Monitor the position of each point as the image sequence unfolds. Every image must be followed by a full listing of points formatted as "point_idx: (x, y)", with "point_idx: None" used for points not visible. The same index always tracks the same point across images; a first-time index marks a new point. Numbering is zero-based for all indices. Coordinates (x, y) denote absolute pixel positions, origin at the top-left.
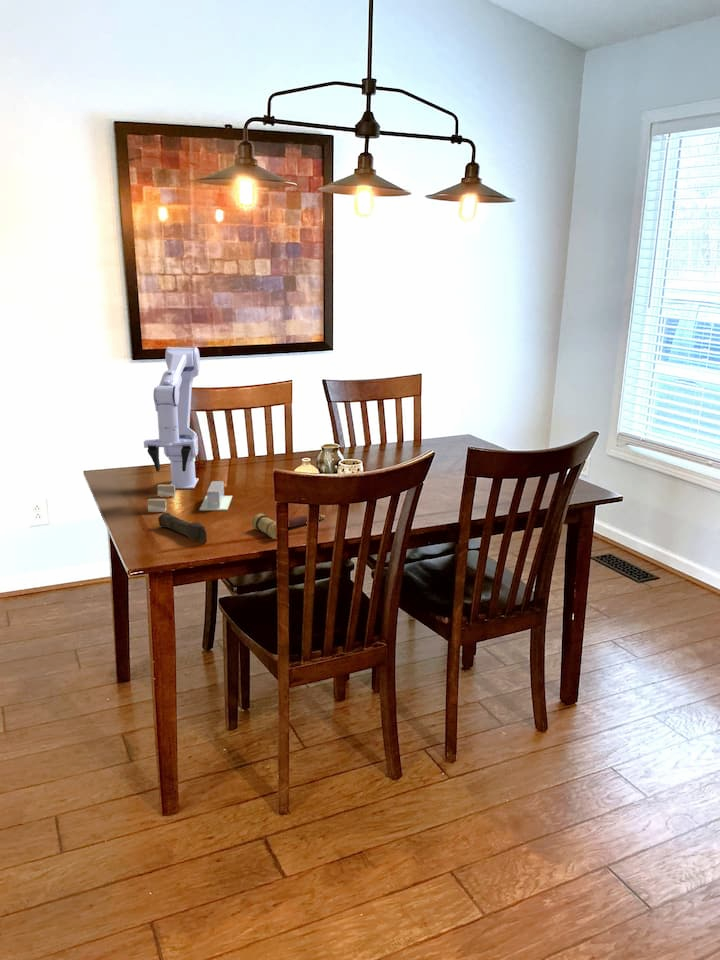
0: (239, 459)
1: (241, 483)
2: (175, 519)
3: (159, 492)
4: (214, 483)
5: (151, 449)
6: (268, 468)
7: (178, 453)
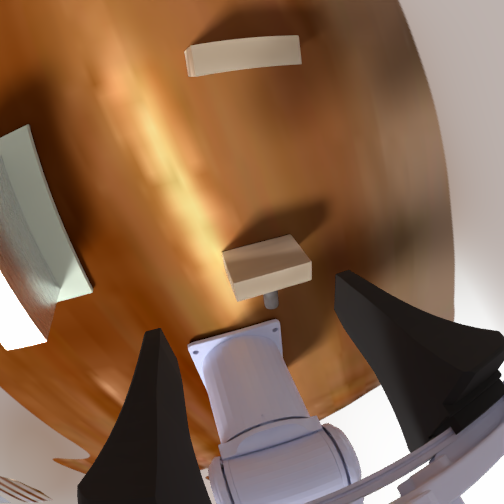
0: None
1: (76, 403)
2: None
3: (291, 246)
4: (13, 317)
5: (480, 382)
6: None
7: (282, 454)
